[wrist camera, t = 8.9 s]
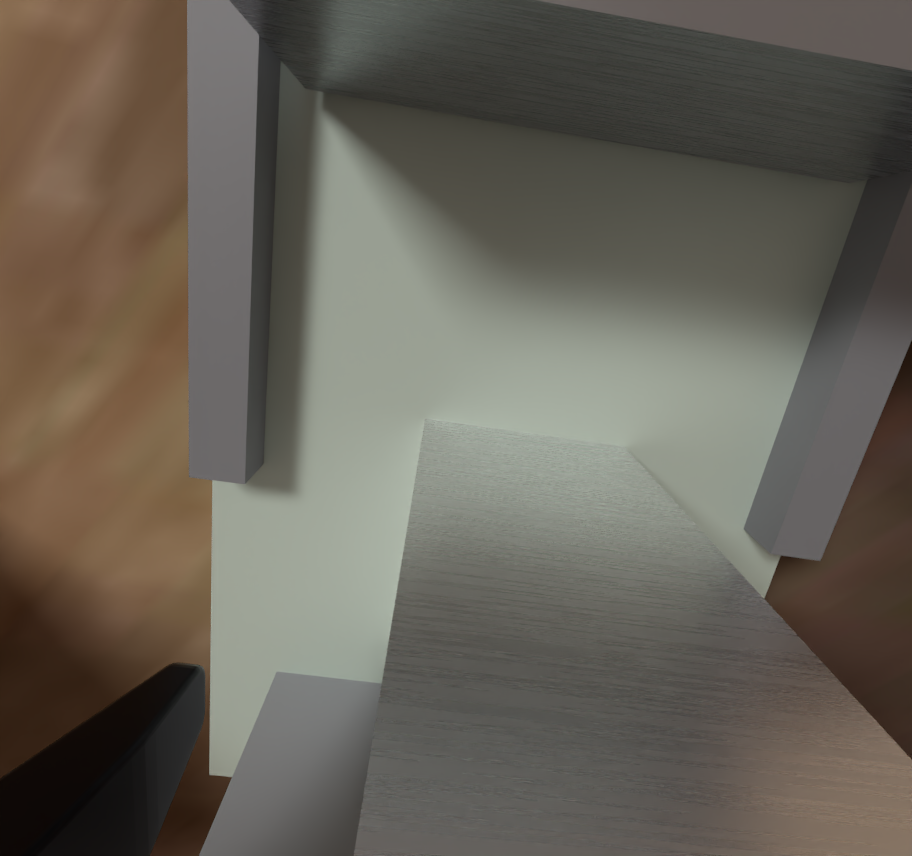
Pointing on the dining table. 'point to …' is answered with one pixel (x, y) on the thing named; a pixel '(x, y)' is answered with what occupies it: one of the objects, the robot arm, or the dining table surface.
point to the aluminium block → (602, 679)
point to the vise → (482, 371)
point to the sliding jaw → (630, 71)
